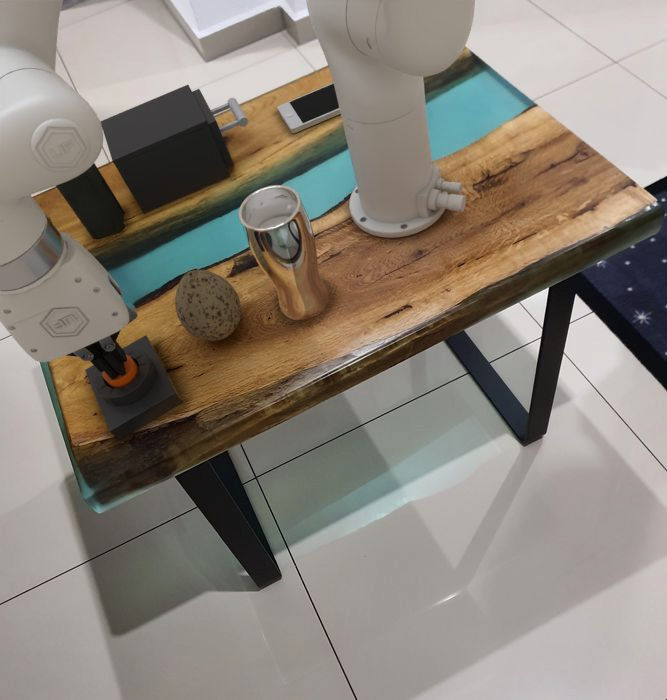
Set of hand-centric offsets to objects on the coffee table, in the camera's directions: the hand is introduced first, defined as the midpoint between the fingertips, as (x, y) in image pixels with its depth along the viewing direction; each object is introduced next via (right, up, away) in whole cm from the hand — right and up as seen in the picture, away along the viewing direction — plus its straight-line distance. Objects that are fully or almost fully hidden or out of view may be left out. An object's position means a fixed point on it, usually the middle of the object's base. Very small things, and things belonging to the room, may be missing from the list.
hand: (117, 367), depth 71 cm
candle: (-9, +20, +23) cm, 32 cm away
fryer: (+1, +28, +26) cm, 38 cm away
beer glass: (+20, +8, +7) cm, 23 cm away
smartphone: (+23, +40, +29) cm, 54 cm away
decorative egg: (+10, +4, +7) cm, 13 cm away
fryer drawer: (+4, +30, +26) cm, 40 cm away
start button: (0, -1, +1) cm, 2 cm away
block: (+1, -3, +4) cm, 5 cm away
